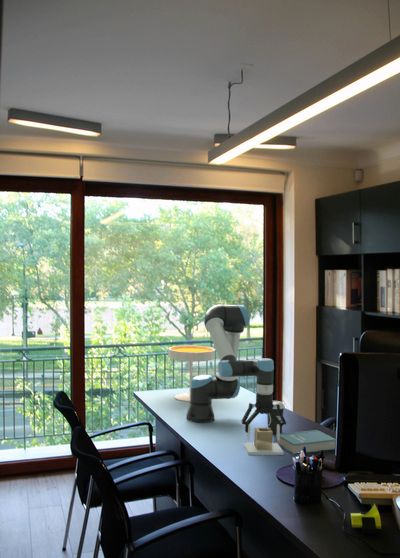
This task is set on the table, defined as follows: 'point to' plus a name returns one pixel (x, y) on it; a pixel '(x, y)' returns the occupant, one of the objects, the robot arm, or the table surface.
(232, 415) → the table surface
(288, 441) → the book
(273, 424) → the coffee cup
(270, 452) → the plate
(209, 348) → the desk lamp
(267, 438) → the wooden cubby shelf
